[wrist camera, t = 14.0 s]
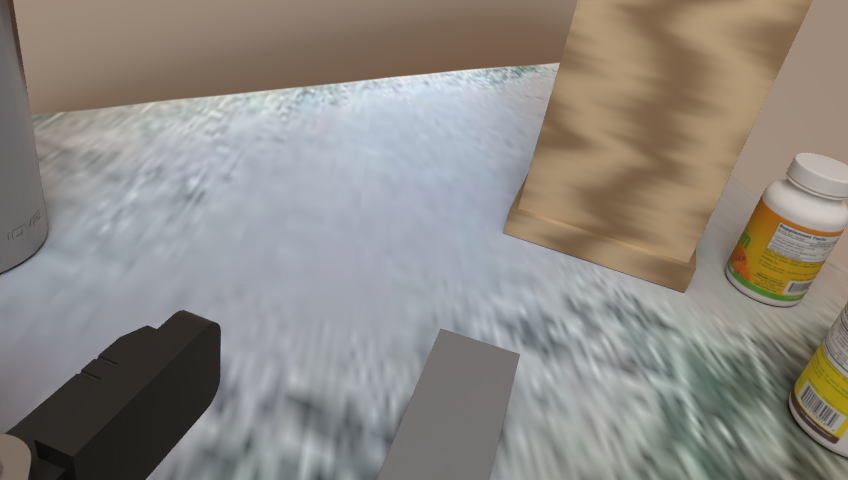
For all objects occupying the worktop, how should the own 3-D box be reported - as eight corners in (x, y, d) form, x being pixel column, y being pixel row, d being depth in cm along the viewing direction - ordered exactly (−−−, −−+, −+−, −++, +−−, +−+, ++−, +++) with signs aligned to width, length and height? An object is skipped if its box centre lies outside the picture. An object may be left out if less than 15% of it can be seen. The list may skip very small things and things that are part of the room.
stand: (503, 232, 49) (664, -340, 31) (537, 164, 59) (672, -292, 42) (684, 292, 46) (967, -293, 29) (686, 210, 57) (894, -254, 40)
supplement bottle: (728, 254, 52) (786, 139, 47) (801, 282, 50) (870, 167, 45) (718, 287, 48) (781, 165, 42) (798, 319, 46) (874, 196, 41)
